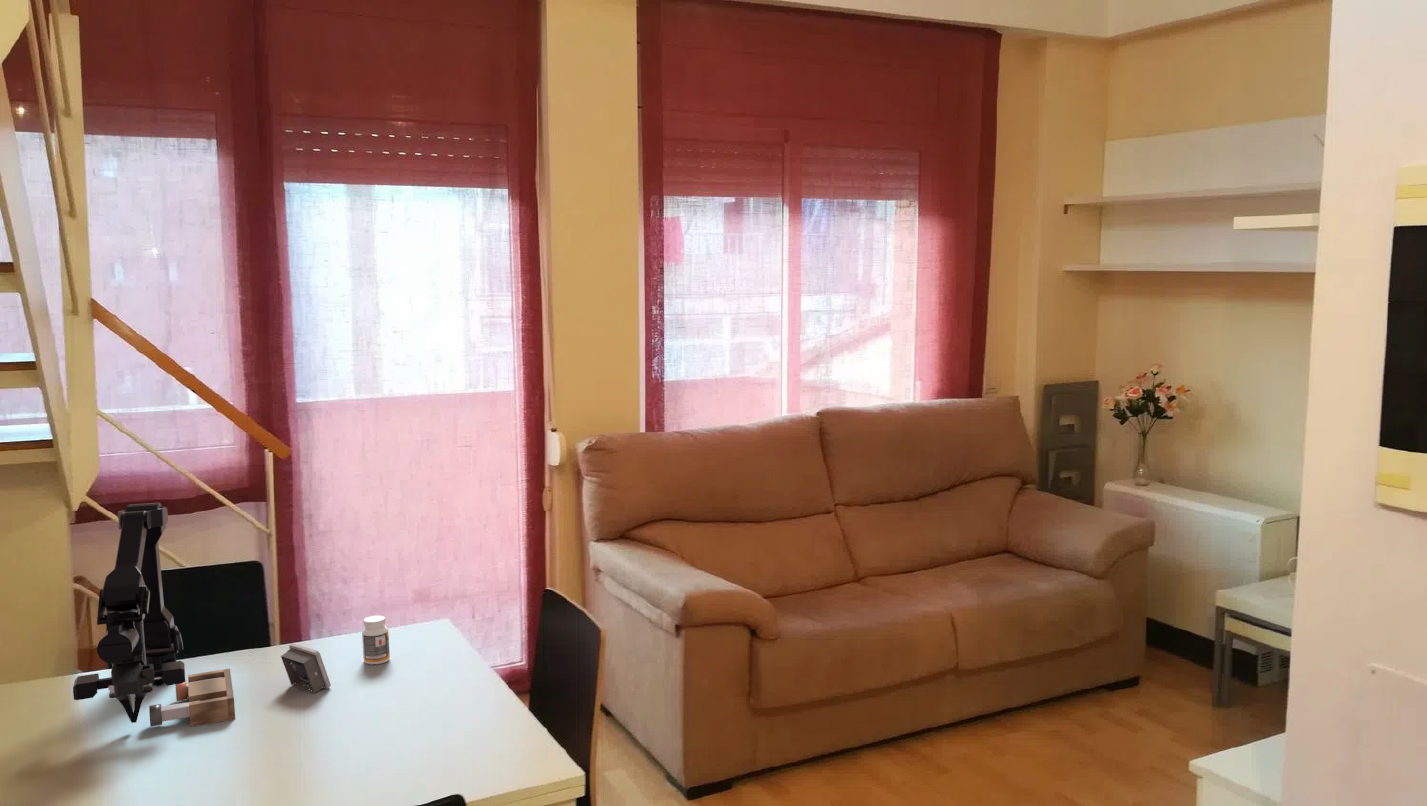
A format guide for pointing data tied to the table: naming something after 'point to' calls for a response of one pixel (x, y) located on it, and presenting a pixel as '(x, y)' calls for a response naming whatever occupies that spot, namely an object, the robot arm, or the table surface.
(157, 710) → the white and gray knob
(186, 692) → the red knob
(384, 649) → the pill bottle
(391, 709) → the table surface
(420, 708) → the table surface
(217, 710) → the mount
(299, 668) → the electrical switch
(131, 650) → the robot arm
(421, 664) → the table surface
